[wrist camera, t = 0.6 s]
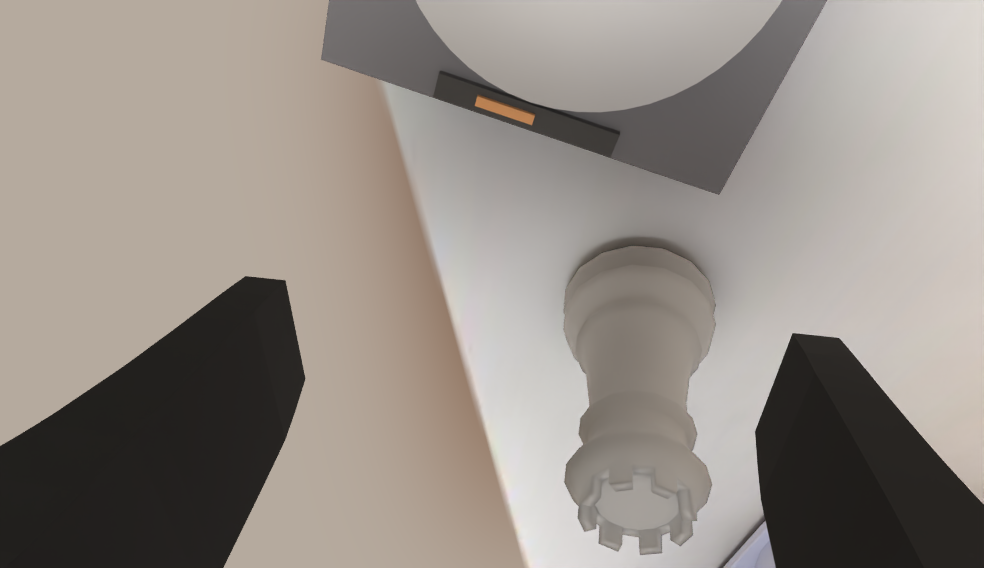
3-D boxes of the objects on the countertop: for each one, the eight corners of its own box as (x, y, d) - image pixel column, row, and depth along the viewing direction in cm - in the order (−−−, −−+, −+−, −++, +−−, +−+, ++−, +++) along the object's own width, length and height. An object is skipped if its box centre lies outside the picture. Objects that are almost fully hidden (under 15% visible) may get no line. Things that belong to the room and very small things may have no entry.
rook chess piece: (713, 230, 20) (747, 448, 14) (714, 352, 23) (744, 585, 16) (555, 241, 21) (518, 447, 15) (573, 356, 24) (548, 575, 17)
